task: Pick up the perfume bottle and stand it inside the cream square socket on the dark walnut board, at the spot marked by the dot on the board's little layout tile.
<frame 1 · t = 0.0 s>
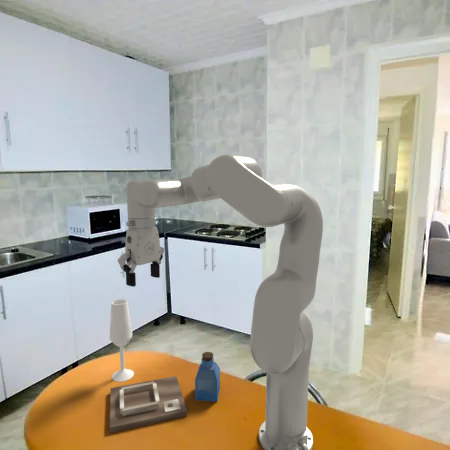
hand: (143, 281, 97), 31 cm above the table, tool pointing down, fingers open, 9 cm apart
layout board: (147, 403, 91), on the table
champagne flute: (123, 375, 104), on the table
perfume bottle: (207, 394, 95), on the table
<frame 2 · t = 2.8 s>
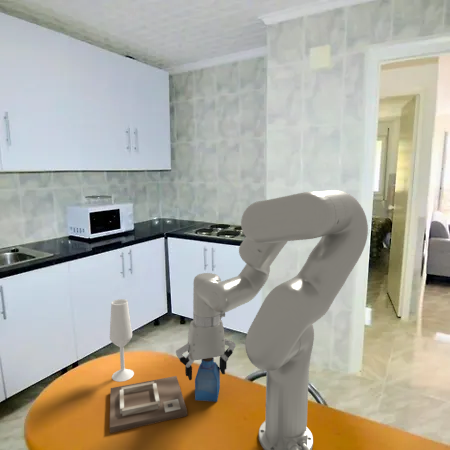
hand: (206, 374, 95), 6 cm above the table, tool pointing down, fingers open, 9 cm apart
nothing on the table moved.
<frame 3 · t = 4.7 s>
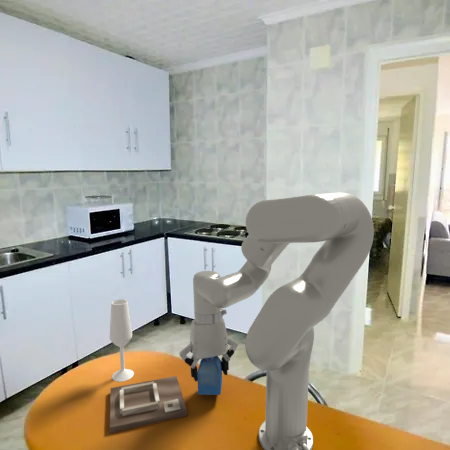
hand: (210, 375, 94), 6 cm above the table, tool pointing down, fingers closed on perfume bottle, 8 cm apart
perfume bottle: (210, 388, 94), point 2 cm above the table, touching gripper
everything else where it was.
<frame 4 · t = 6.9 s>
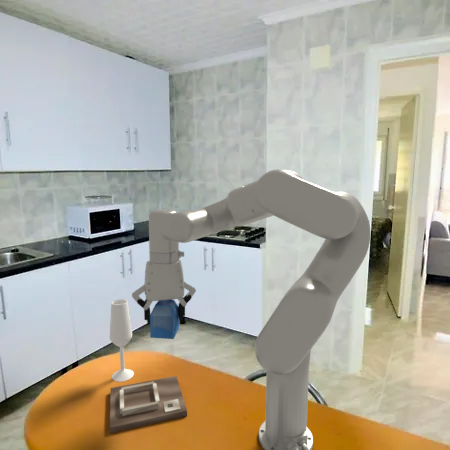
hand: (164, 320, 89), 23 cm above the table, tool pointing down, fingers closed on perfume bottle, 8 cm apart
perfume bottle: (165, 333, 89), point 20 cm above the table, touching gripper
everything else where it was.
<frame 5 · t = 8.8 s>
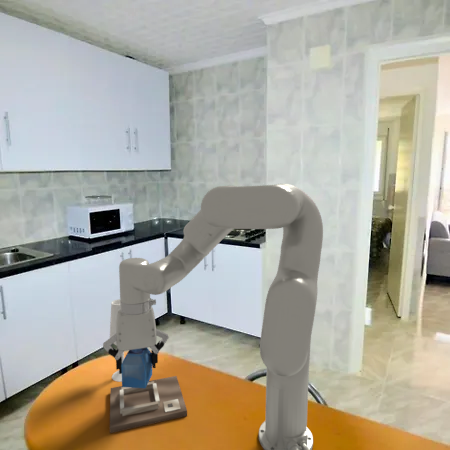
hand: (137, 367, 89), 11 cm above the table, tool pointing down, fingers closed on perfume bottle, 8 cm apart
perfume bottle: (137, 381, 89), point 7 cm above the table, touching gripper
everything else where it was.
when the fingers open (7 cm above the table, at t = 10.3 s): perfume bottle stays where it is, resting on layout board.
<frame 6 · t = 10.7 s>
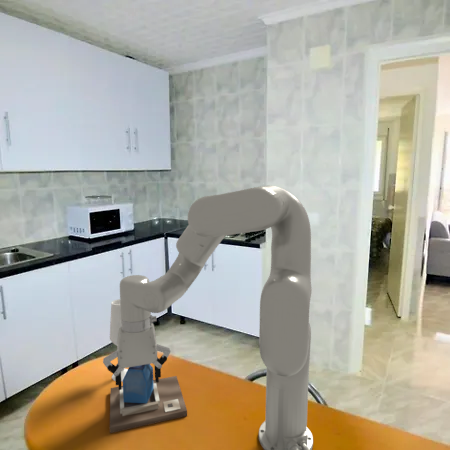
hand: (138, 383, 89), 7 cm above the table, tool pointing down, fingers open, 9 cm apart
perfume bottle: (139, 395, 90), point 3 cm above the table, touching layout board
everything else where it was.
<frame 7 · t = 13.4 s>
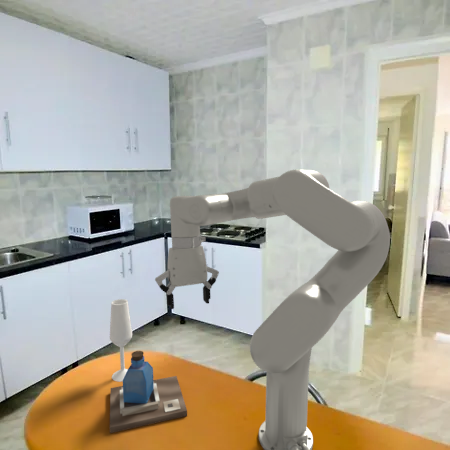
hand: (189, 304, 90), 27 cm above the table, tool pointing down, fingers open, 9 cm apart
nothing on the table moved.
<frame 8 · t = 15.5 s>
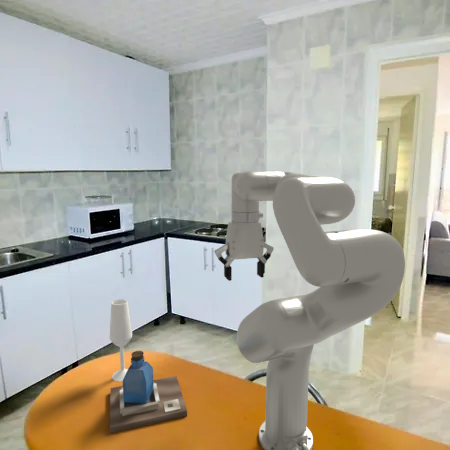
hand: (244, 277, 94), 33 cm above the table, tool pointing down, fingers open, 9 cm apart
nothing on the table moved.
at the end: perfume bottle 0.0 cm from the target spot on the layout board, point 2.8 cm above the layout board's base; perfume bottle tilted 0°; the gripper is holding nothing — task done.
